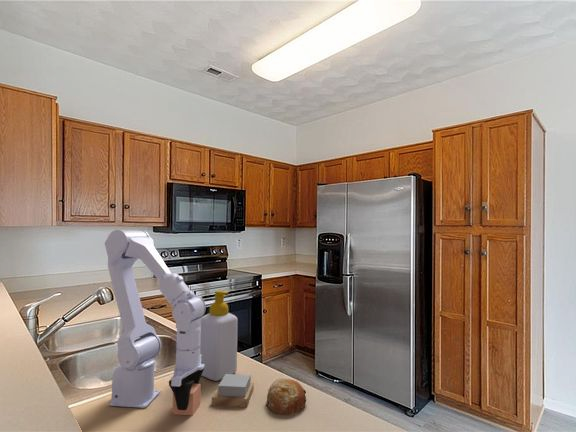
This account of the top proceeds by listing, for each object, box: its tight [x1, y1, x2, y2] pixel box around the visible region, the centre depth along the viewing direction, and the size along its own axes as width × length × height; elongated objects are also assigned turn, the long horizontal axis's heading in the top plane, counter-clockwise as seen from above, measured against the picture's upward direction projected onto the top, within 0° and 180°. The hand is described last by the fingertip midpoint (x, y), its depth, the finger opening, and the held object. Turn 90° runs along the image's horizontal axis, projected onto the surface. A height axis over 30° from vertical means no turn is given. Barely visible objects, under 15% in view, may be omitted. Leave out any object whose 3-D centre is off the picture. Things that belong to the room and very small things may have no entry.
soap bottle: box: [200, 289, 239, 382], centre depth 101 cm, size 9×9×25 cm
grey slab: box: [217, 373, 252, 397], centre depth 87 cm, size 7×7×2 cm
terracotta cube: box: [172, 383, 202, 416], centre depth 81 cm, size 5×5×5 cm
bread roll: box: [265, 378, 307, 415], centre depth 84 cm, size 10×10×8 cm
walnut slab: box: [211, 382, 255, 408], centre depth 87 cm, size 9×9×2 cm
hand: (186, 403), depth 80 cm, fingers closed on terracotta cube, 5 cm apart
